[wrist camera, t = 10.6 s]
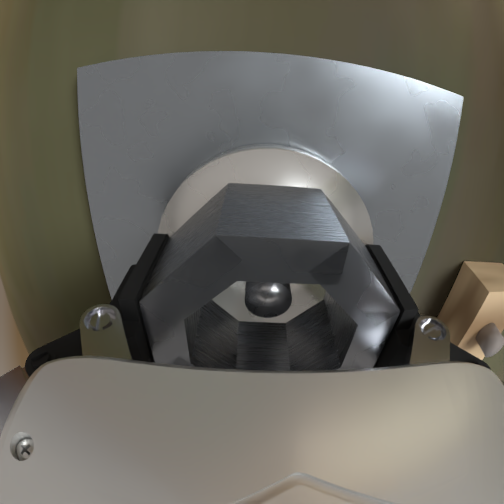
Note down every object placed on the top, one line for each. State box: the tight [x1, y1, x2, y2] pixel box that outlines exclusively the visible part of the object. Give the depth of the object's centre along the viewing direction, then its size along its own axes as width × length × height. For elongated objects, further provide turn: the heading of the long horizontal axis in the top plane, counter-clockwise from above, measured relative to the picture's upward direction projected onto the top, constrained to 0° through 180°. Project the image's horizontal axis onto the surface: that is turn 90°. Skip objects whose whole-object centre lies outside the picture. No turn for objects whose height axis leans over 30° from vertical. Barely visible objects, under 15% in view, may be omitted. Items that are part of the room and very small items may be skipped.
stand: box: [437, 261, 504, 360], centre depth 14 cm, size 6×4×4 cm, turn 177°
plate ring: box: [139, 183, 400, 371], centre depth 10 cm, size 7×7×4 cm
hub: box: [77, 51, 463, 323], centre depth 12 cm, size 16×16×4 cm
